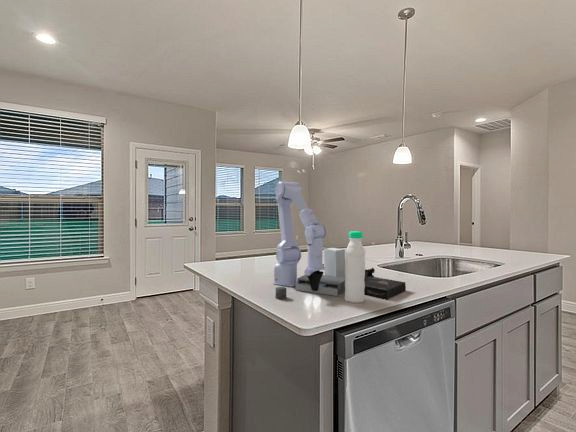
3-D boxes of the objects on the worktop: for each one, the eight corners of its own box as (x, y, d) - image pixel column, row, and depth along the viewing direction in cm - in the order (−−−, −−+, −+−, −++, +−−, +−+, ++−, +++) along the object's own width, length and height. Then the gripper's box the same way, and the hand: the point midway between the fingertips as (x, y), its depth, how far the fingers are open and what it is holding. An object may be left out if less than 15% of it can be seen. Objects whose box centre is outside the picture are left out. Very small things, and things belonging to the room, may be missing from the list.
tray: (295, 289, 128) (295, 283, 128) (306, 283, 137) (306, 278, 137) (337, 296, 119) (337, 289, 119) (346, 289, 129) (346, 283, 129)
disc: (310, 287, 127) (310, 282, 126) (316, 284, 131) (316, 279, 131) (323, 289, 124) (323, 284, 124) (329, 285, 129) (329, 281, 129)
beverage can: (374, 285, 142) (351, 281, 151) (375, 267, 144) (352, 265, 152) (364, 284, 136) (340, 281, 144) (365, 266, 137) (342, 264, 145)
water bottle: (342, 297, 118) (343, 230, 117) (360, 297, 119) (362, 230, 118) (347, 303, 111) (348, 232, 110) (367, 303, 112) (368, 232, 111)
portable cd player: (405, 291, 128) (405, 282, 128) (386, 301, 116) (387, 290, 116) (368, 284, 139) (368, 275, 139) (347, 292, 127) (348, 282, 127)
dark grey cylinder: (273, 298, 117) (273, 288, 117) (278, 295, 120) (278, 286, 120) (283, 299, 115) (283, 290, 115) (288, 297, 118) (288, 287, 118)
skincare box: (346, 282, 141) (346, 249, 140) (335, 284, 137) (336, 250, 137) (333, 278, 148) (333, 247, 147) (323, 280, 144) (323, 248, 144)
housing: (297, 289, 130) (297, 278, 129) (308, 283, 139) (308, 273, 139) (339, 295, 121) (339, 283, 121) (348, 288, 131) (348, 278, 131)
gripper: (317, 259, 114) (316, 296, 114) (331, 253, 127) (331, 287, 127) (299, 257, 117) (299, 293, 118) (315, 252, 130) (314, 285, 131)
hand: (314, 290), depth 123 cm, fingers closed
